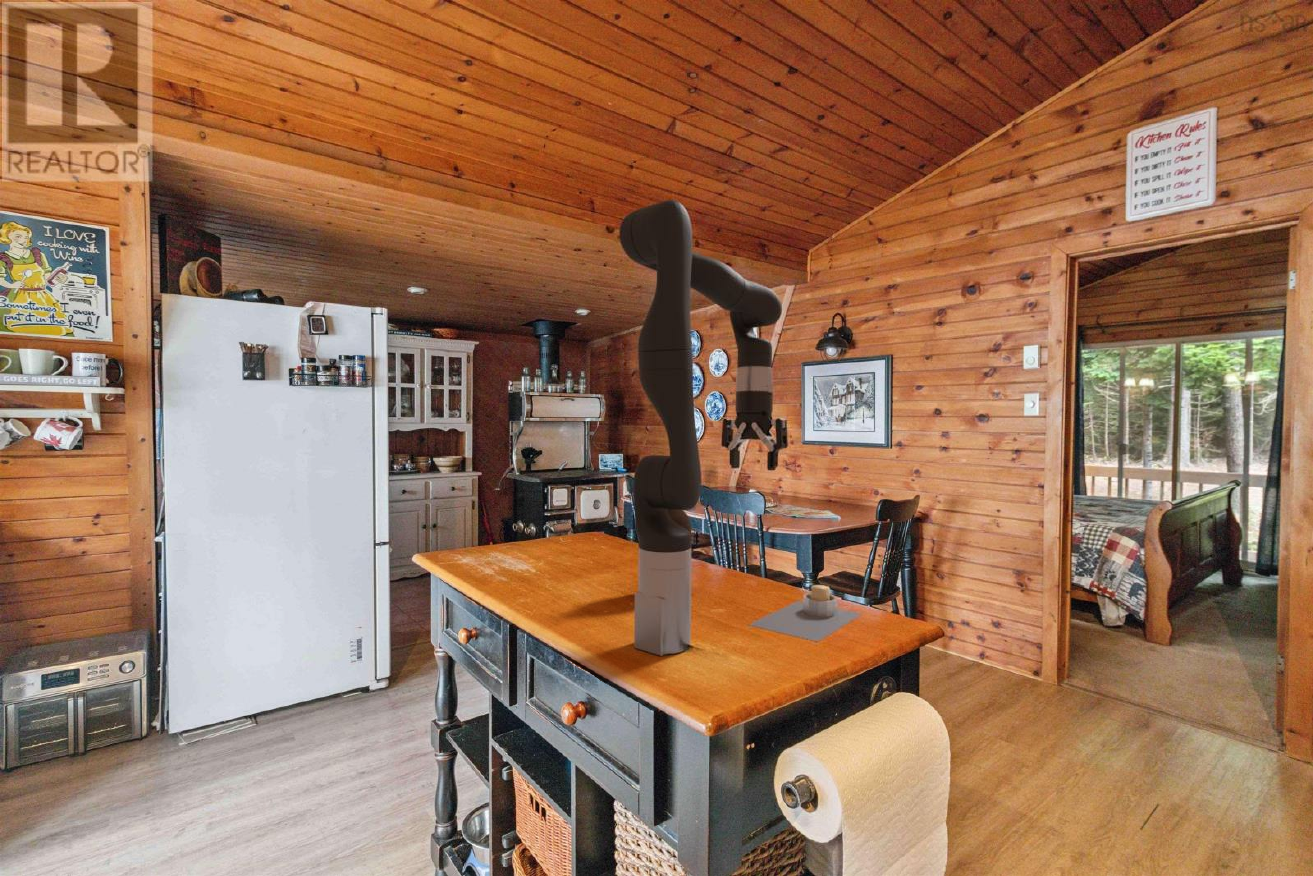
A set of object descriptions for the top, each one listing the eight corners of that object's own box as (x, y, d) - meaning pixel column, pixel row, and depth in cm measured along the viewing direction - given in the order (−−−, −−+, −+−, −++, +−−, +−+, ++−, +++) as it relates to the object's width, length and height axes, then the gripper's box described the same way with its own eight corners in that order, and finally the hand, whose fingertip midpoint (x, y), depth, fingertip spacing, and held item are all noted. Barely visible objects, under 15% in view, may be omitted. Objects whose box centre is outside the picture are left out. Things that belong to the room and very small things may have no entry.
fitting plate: (817, 647, 105) (817, 613, 105) (747, 630, 114) (748, 598, 114) (862, 618, 122) (862, 588, 121) (798, 605, 130) (798, 577, 130)
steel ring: (828, 619, 118) (829, 603, 118) (797, 612, 122) (797, 597, 122) (842, 611, 123) (842, 596, 123) (812, 605, 127) (812, 590, 127)
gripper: (715, 390, 126) (714, 468, 126) (776, 387, 117) (775, 471, 117) (734, 392, 131) (733, 467, 132) (794, 390, 122) (793, 470, 122)
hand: (753, 469), depth 124 cm, fingers open, 8 cm apart
